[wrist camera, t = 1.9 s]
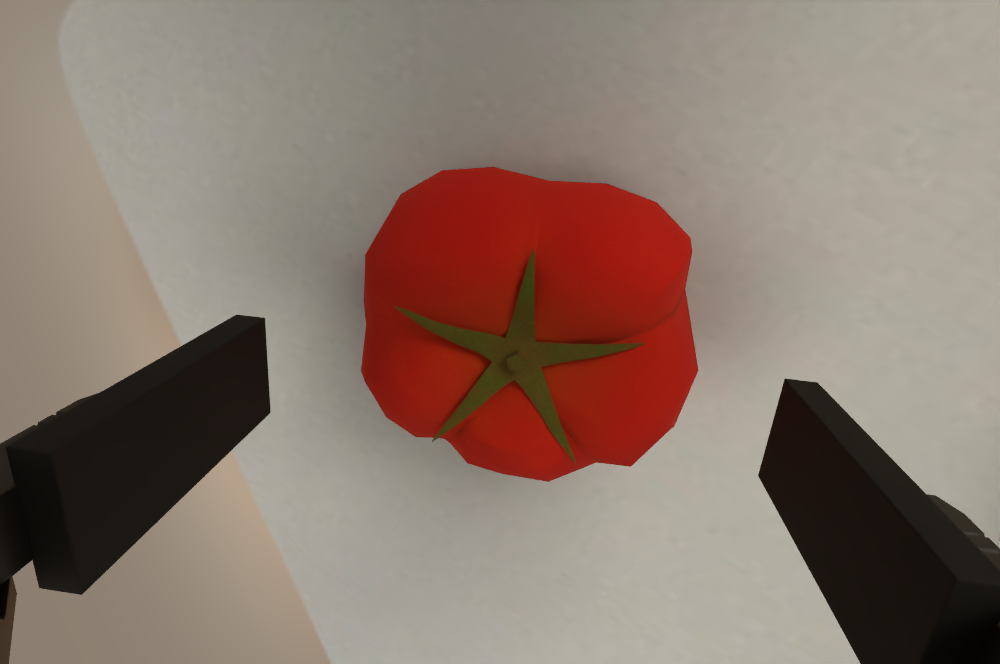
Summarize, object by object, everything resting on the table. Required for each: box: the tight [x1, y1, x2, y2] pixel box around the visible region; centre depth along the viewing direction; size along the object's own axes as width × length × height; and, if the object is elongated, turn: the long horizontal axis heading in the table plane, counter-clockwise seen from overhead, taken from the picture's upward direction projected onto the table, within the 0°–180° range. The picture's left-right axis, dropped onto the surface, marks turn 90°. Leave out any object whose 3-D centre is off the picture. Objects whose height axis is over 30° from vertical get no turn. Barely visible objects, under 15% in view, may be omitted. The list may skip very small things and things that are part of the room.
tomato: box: [361, 167, 698, 482], centre depth 19 cm, size 10×11×6 cm
